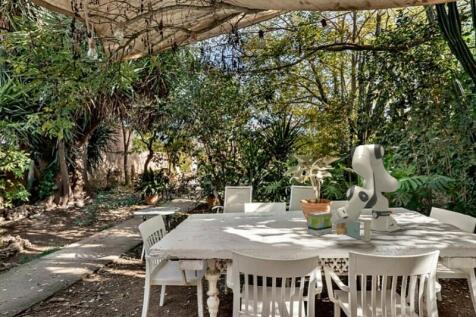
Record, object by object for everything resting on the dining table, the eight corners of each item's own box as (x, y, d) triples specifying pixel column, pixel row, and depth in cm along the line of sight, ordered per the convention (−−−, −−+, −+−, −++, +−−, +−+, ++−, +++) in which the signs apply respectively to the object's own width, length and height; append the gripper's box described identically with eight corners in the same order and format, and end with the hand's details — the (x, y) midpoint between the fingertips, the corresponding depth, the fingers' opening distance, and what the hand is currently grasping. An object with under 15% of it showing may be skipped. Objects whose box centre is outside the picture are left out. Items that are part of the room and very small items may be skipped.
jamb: (367, 239, 242) (367, 220, 242) (370, 240, 240) (370, 220, 240) (363, 240, 241) (363, 220, 240) (366, 241, 238) (366, 221, 238)
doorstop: (342, 233, 238) (339, 221, 239) (347, 233, 233) (345, 220, 235) (337, 234, 235) (334, 222, 237) (342, 234, 231) (340, 221, 233)
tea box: (318, 236, 255) (317, 214, 254) (307, 233, 263) (307, 212, 262) (332, 232, 263) (332, 212, 263) (321, 230, 271) (321, 210, 271)
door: (343, 233, 257) (343, 218, 257) (346, 233, 258) (346, 217, 258) (356, 239, 241) (356, 222, 241) (360, 239, 242) (360, 222, 242)
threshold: (349, 234, 256) (349, 234, 256) (364, 238, 244) (364, 238, 244) (346, 235, 255) (346, 234, 255) (361, 239, 243) (361, 238, 243)
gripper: (359, 206, 234) (348, 219, 243) (335, 209, 225) (324, 222, 234) (365, 214, 230) (353, 227, 239) (340, 217, 221) (329, 230, 230)
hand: (339, 225), depth 237 cm, fingers closed on doorstop, 5 cm apart
